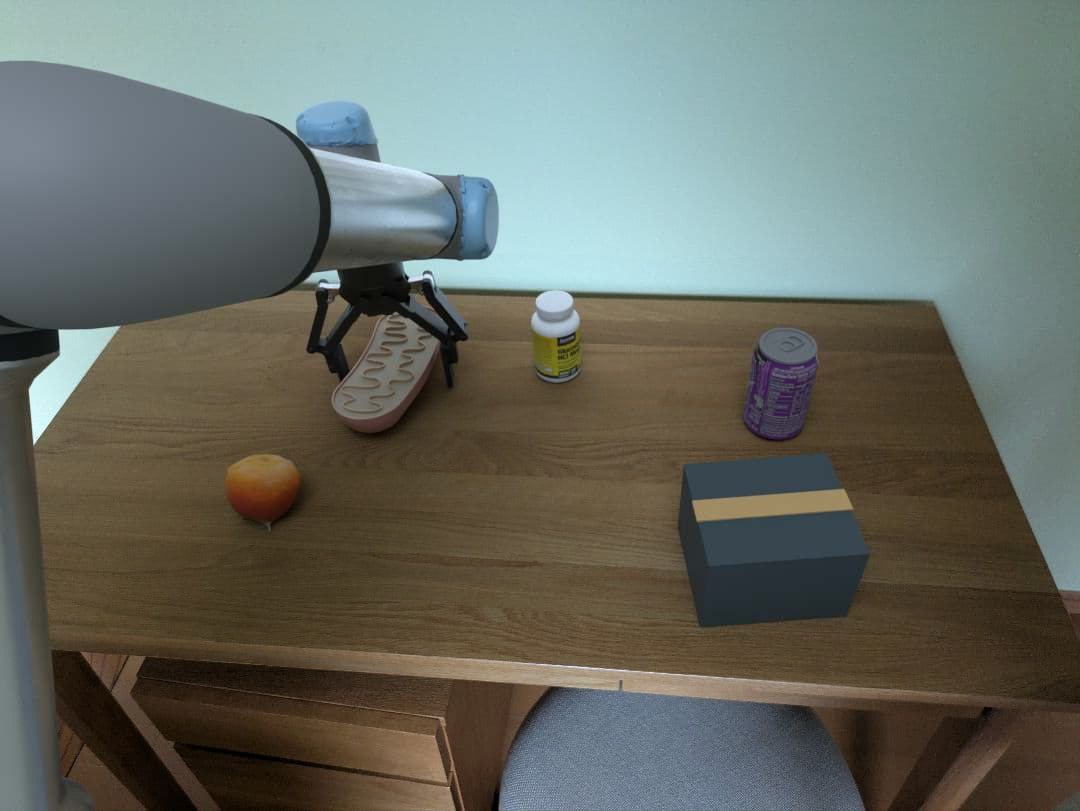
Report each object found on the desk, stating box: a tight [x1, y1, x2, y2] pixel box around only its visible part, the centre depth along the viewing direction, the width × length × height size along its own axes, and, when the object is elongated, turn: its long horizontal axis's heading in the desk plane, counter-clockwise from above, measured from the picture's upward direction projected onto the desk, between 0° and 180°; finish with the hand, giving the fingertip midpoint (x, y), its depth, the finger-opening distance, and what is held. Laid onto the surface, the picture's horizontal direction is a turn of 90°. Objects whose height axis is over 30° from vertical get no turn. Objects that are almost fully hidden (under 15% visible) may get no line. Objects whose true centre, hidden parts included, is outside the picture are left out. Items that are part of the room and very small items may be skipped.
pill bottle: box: [530, 289, 582, 384], centre depth 99 cm, size 6×6×11 cm
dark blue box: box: [677, 452, 871, 628], centre depth 75 cm, size 14×12×10 cm
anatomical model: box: [331, 305, 442, 434], centre depth 101 cm, size 23×10×5 cm, turn 167°
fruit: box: [224, 453, 302, 533], centre depth 86 cm, size 8×8×8 cm
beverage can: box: [742, 327, 820, 440], centre depth 89 cm, size 7×7×12 cm
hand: (399, 384), depth 102 cm, fingers open, 13 cm apart
